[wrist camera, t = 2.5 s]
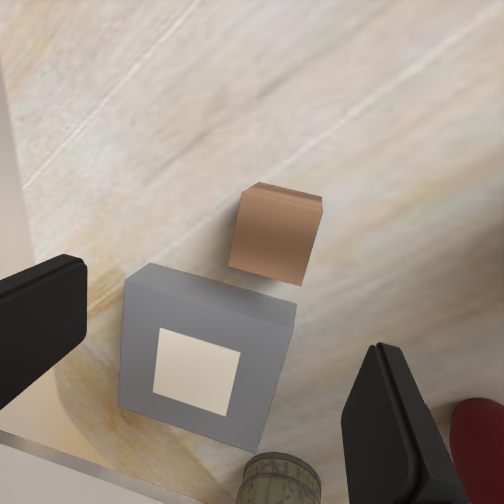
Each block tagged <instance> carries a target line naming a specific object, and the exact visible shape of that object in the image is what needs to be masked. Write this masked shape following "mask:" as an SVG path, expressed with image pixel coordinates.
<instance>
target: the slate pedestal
mask: <svg viewBox="0 0 504 504" xmlns="http://www.w3.org/2000/svg"><path fill="white" fill-rule="evenodd" d="M296 306H297V304H295V303H291V302H288V301H284V300H281V299H277V298H274V297H270V296H266V295H263V294H259V293H256V292H252V291H249V290H245V289H242V288H238V287H235V286H231V285H228V284H224V283H220V282H217V281H213V280H210V279H206V278H203V277H199V276H196V275H192V274H189V273H185V272H181V271H178V270H174V269H171V268H167V267H164V266H160V265H157V264H153V263H149V264H147V265H146V266H144V267H143V268H141V269H140V270H139V271H137V272H136V273H134V274H133V275H131V276H130V277H128V278H127V279H126V280H125V287H124V304H123V322H122V340H121V357H120V375H119V393H118V407H121V408H124V409H127V410H130V411H133V412H136V413H138V414H141V415H144V416H147V417H150V418H153V419H156V420H159V421H161V422H164V423H167V424H170V425H173V426H176V427H179V428H182V429H184V430H187V431H190V432H193V433H196V434H199V435H202V436H205V437H208V438H210V439H213V440H216V441H219V442H222V443H225V444H228V445H231V446H233V447H236V448H239V449H242V450H245V451H248V452H251V453H254V454H256V452H257V448H258V445H259V442H260V438H261V435H262V432H263V429H264V425H265V422H266V419H267V415H268V412H269V409H270V405H271V402H272V399H273V395H274V392H275V389H276V385H277V382H278V379H279V375H280V372H281V369H282V366H283V362H284V359H285V356H286V352H287V349H288V346H289V342H290V339H291V336H292V332H293V329H294V321H295V314H296Z"/></svg>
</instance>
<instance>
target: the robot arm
mask: <svg viewBox="0 0 504 504" xmlns="http://www.w3.org/2000/svg"><path fill="white" fill-rule="evenodd" d="M86 332H87V266H86V265H85V264H84V261H83V260H82V259H81V258H77V257H74V256H70V255H67V254H62V255H59V256H57V257H54V258H52V259H49V260H47V261H45V262H42V263H40V264H38V265H35V266H33V267H31V268H28V269H26V270H23V271H21V272H19V273H16V274H14V275H12V276H9V277H7V278H4V279H2V280H0V410H1V409H2V408H4V407H5V406H6V405H7V404H8V403H9V402H11V401H12V400H13V399H14V398H15V397H16V396H18V395H19V394H20V393H21V392H23V391H24V390H25V389H26V388H27V387H29V386H30V385H31V384H32V383H33V382H34V381H36V380H37V379H38V378H39V377H40V376H42V375H43V374H44V373H45V372H46V371H48V370H49V369H50V368H51V367H52V366H54V365H55V364H56V363H57V362H58V361H60V360H61V359H62V358H63V357H64V356H66V355H67V354H68V353H69V352H70V351H71V350H73V349H74V348H75V347H76V346H77V345H79V344H80V343H81V342H82V341H83V339H84V338H85V336H86ZM341 427H342V437H343V446H344V455H345V465H346V474H347V484H348V493H349V503H350V504H471V502H470V500H469V498H468V496H467V493H466V491H465V489H464V487H463V485H462V482H461V480H460V478H459V476H458V473H457V471H456V469H455V467H454V464H453V462H452V460H451V458H450V455H449V453H448V451H447V449H446V447H445V444H444V442H443V440H442V438H441V435H440V433H439V431H438V429H437V426H436V424H435V422H434V420H433V418H432V415H431V413H430V411H429V409H428V407H427V406H426V404H425V403H424V401H423V399H422V396H421V394H420V392H419V390H418V387H417V385H416V383H415V381H414V378H413V376H412V374H411V372H410V369H409V367H408V365H407V362H406V360H405V358H404V356H403V353H402V351H401V349H400V348H398V347H395V346H391V345H388V344H384V343H381V342H379V343H378V344H377V345H376V346H373V345H371V346H370V347H369V349H368V351H367V354H366V356H365V358H364V361H363V363H362V366H361V368H360V370H359V373H358V375H357V378H356V380H355V382H354V385H353V387H352V390H351V392H350V395H349V397H348V399H347V402H346V404H345V407H344V409H343V412H342V417H341ZM0 504H206V503H203V502H201V501H198V500H195V499H192V498H190V497H187V496H184V495H181V494H179V493H176V492H173V491H170V490H168V489H165V488H162V487H159V486H156V485H154V484H151V483H148V482H145V481H142V480H140V479H137V478H134V477H131V476H128V475H126V474H123V473H120V472H117V471H114V470H112V469H109V468H106V467H103V466H100V465H97V464H95V463H92V462H89V461H86V460H84V459H81V458H78V457H75V456H72V455H70V454H67V453H64V452H61V451H58V450H55V449H53V448H50V447H47V446H44V445H41V444H39V443H35V442H33V441H30V440H27V439H24V438H21V437H19V436H16V435H13V434H10V433H7V432H4V431H1V430H0Z"/></svg>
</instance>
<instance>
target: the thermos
mask: <svg viewBox="0 0 504 504" xmlns="http://www.w3.org/2000/svg"><path fill="white" fill-rule="evenodd" d="M320 499H321V482H320V480H319V477H318V475H317V474H316V472H315V471H314V470H313V469H312V468H311V467H310V466H309V465H308V464H306V463H305V462H303V461H302V460H301V459H299V458H296V457H294V456H291V455H288V454H283V453H277V452H271V453H263V454H260V455H258V456H255V457H253V458H252V459H251V460H250V461H249V462H248V463H247V465H246V468H245V470H244V475H243V482H242V486H241V487H240V489H239V492H238V494H237V499H236V503H235V504H320Z"/></svg>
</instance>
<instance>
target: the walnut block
mask: <svg viewBox="0 0 504 504" xmlns="http://www.w3.org/2000/svg"><path fill="white" fill-rule="evenodd" d="M322 214H323V208H322V197H320V196H316V195H311V194H307V193H303V192H299V191H295V190H290V189H286V188H282V187H278V186H274V185H269V184H265V183H261V182H258V183H257V184H255V185H253V186H252V187H250V188H248V189H247V190H245V191H243V192H242V194H241V199H240V204H239V210H238V215H237V220H236V225H235V230H234V236H233V241H232V246H231V251H230V256H229V262H228V266H229V267H232V268H236V269H240V270H243V271H247V272H251V273H254V274H258V275H262V276H265V277H269V278H272V279H276V280H280V281H283V282H287V283H291V284H294V285H298V286H301V285H302V281H303V278H304V275H305V271H306V268H307V264H308V261H309V258H310V254H311V251H312V248H313V244H314V241H315V237H316V234H317V231H318V227H319V224H320V220H321V217H322Z"/></svg>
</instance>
